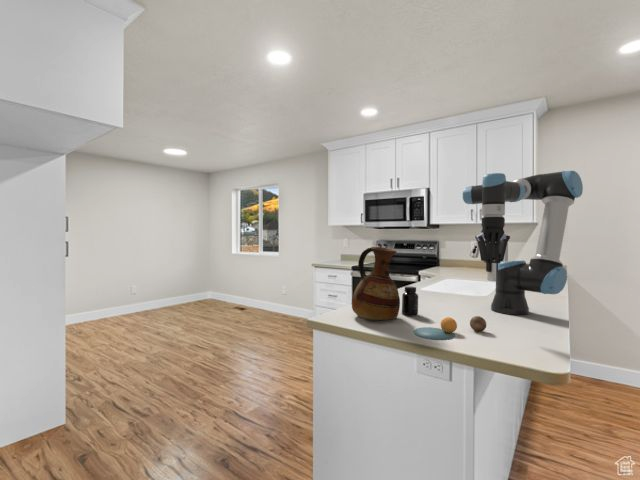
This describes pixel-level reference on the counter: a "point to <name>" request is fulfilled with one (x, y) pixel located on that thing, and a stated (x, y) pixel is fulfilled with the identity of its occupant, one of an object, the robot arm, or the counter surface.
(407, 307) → the supplement bottle
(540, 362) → the counter surface
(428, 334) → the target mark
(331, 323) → the counter surface
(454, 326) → the object ball
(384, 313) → the ceramic pitcher
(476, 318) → the dark brown ball
